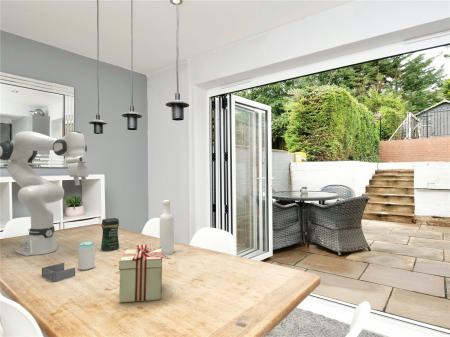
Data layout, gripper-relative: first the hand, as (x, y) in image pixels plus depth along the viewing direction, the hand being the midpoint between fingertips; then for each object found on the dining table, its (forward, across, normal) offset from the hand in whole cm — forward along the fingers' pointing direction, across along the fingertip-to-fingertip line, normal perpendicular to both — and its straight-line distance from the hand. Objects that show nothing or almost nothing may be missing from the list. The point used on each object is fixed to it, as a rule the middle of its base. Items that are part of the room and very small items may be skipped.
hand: (80, 185), depth 153 cm
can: (+41, +18, +4) cm, 45 cm away
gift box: (+45, +51, +36) cm, 77 cm away
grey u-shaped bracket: (+40, +26, -4) cm, 48 cm away
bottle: (+44, 0, +42) cm, 61 cm away
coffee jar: (+40, -14, +8) cm, 43 cm away
